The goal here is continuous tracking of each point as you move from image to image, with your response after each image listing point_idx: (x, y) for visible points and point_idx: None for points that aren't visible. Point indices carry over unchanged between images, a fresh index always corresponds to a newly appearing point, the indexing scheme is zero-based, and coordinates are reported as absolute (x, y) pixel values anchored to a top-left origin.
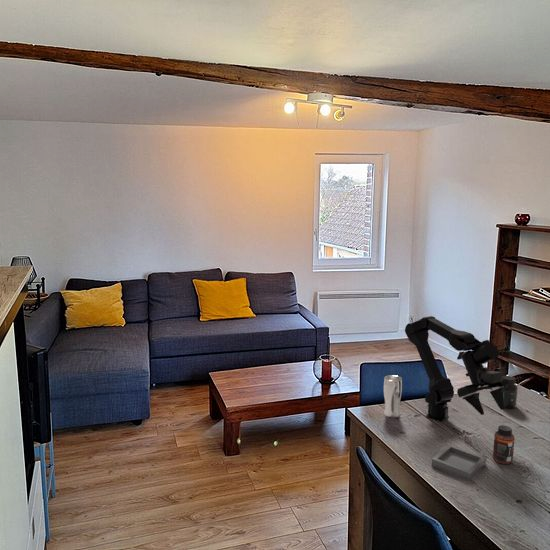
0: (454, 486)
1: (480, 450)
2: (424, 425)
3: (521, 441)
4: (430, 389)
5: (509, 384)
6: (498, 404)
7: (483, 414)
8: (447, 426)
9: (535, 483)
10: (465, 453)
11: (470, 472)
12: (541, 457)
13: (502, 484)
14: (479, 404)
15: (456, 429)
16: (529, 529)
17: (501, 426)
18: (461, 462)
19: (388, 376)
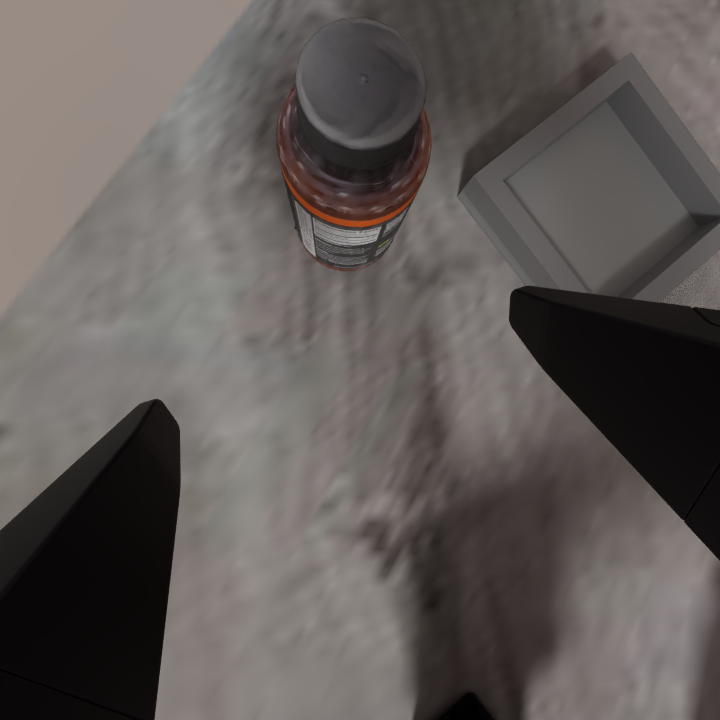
0: (679, 64)
1: (407, 337)
2: (580, 652)
3: (107, 401)
4: None
5: None
6: (167, 502)
7: (516, 293)
8: (456, 630)
9: (308, 4)
10: (552, 253)
11: (625, 61)
12: (108, 214)
13: (468, 31)
14: (682, 309)
15: (421, 588)
16: None
17: (385, 111)
18: (581, 214)
19: None
